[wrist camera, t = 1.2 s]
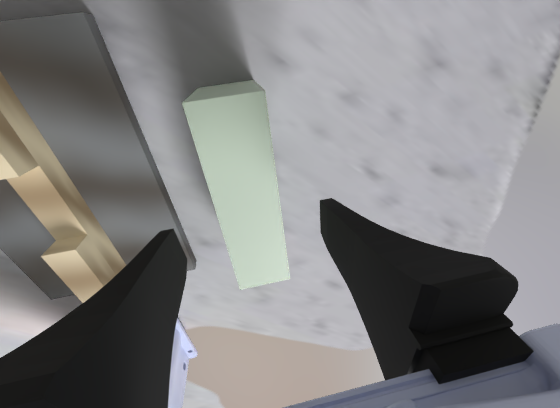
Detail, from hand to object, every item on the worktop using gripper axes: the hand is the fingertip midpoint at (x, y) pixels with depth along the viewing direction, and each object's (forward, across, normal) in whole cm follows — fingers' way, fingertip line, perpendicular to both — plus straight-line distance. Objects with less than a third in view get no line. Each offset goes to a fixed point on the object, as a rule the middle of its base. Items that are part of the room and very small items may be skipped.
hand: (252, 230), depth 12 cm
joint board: (+8, +12, -1) cm, 14 cm away
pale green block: (+8, 0, 0) cm, 8 cm away
